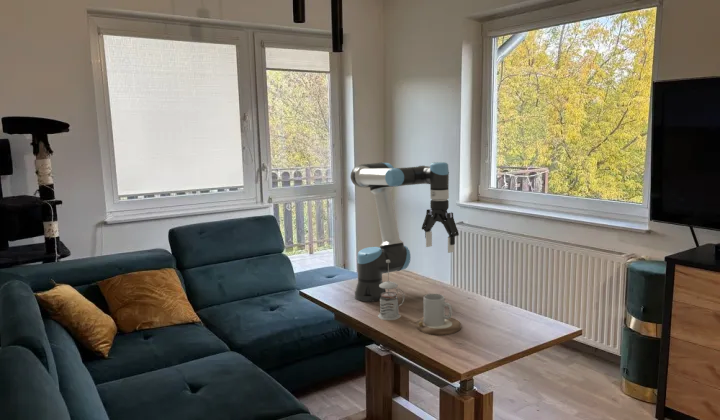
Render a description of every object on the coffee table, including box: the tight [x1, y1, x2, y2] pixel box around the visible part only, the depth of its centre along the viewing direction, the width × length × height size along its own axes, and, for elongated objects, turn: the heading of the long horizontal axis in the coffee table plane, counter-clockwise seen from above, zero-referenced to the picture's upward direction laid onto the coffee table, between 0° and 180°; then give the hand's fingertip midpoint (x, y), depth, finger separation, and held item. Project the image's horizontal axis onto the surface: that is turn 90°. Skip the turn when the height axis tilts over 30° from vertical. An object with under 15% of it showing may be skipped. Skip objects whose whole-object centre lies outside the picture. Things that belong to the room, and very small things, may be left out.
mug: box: [423, 293, 453, 326], centre depth 211 cm, size 12×8×11 cm
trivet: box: [415, 316, 462, 336], centre depth 212 cm, size 18×18×3 cm
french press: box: [377, 260, 405, 321], centre depth 223 cm, size 10×12×25 cm
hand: (439, 249), depth 221 cm, fingers open, 13 cm apart
